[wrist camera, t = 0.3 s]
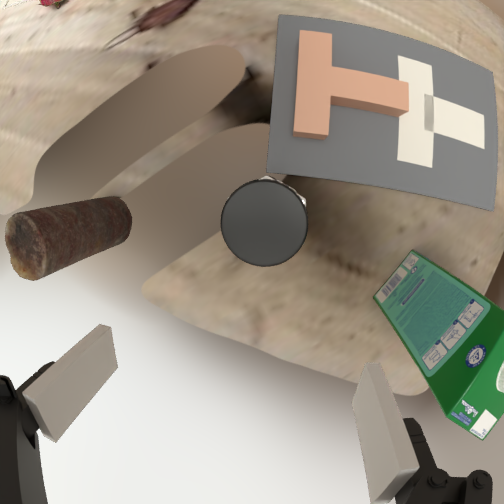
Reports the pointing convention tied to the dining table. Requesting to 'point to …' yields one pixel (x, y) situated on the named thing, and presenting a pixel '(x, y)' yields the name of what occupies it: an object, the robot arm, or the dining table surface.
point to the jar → (264, 222)
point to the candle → (64, 234)
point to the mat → (392, 118)
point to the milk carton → (449, 340)
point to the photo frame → (14, 4)
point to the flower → (50, 2)
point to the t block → (338, 88)
